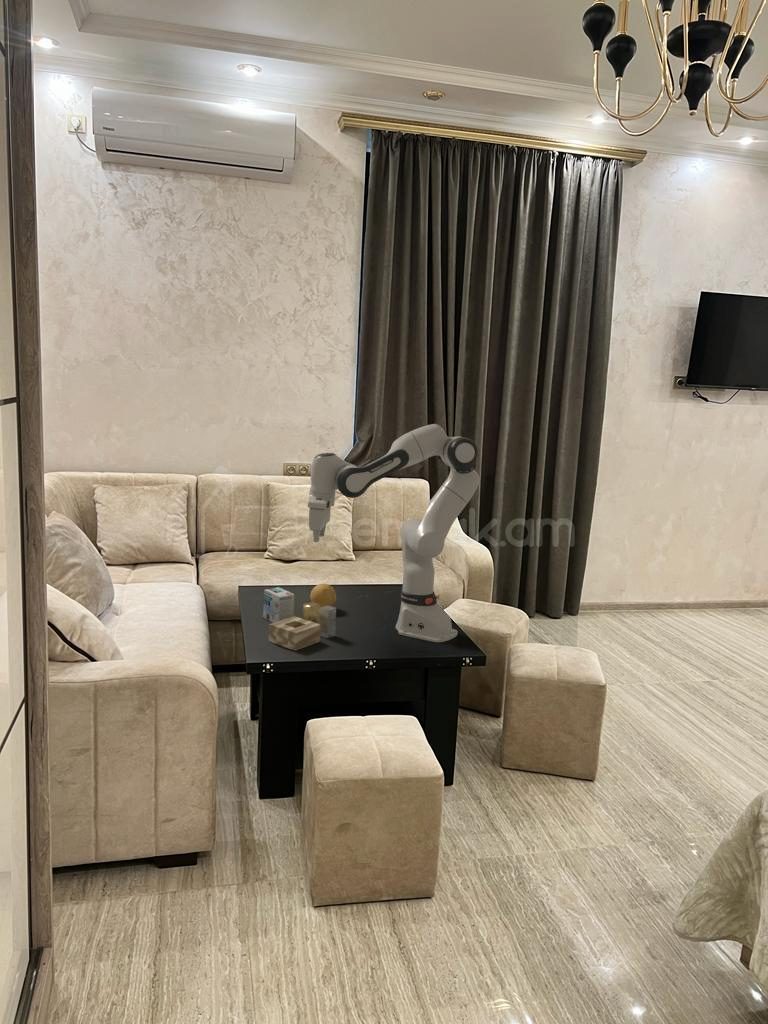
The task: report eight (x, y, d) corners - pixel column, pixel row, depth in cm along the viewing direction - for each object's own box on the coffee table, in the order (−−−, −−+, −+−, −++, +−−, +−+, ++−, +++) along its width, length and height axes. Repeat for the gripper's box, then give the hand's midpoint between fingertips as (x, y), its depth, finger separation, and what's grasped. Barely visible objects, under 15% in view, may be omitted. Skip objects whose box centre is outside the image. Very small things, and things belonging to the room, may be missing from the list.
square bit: (334, 635, 262) (336, 607, 260) (327, 638, 258) (328, 610, 257) (326, 632, 264) (327, 605, 262) (318, 635, 261) (319, 607, 259)
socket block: (319, 641, 255) (320, 624, 254) (295, 650, 246) (295, 633, 245) (293, 632, 262) (294, 616, 261) (268, 641, 253) (269, 624, 252)
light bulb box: (262, 617, 276) (263, 589, 274) (278, 614, 281) (279, 586, 279) (278, 626, 268) (279, 596, 266) (294, 622, 273) (295, 594, 271)
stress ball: (307, 610, 291) (307, 600, 282) (313, 587, 295) (314, 576, 287) (332, 616, 290) (333, 606, 282) (338, 593, 295) (339, 582, 287)
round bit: (322, 626, 270) (323, 605, 269) (311, 630, 265) (312, 608, 264) (310, 622, 273) (310, 601, 272) (298, 626, 269) (299, 605, 267)
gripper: (318, 494, 272) (315, 532, 274) (306, 503, 252) (303, 543, 254) (335, 496, 271) (333, 534, 273) (325, 505, 251) (322, 546, 253)
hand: (318, 538), depth 264 cm, fingers open, 8 cm apart
